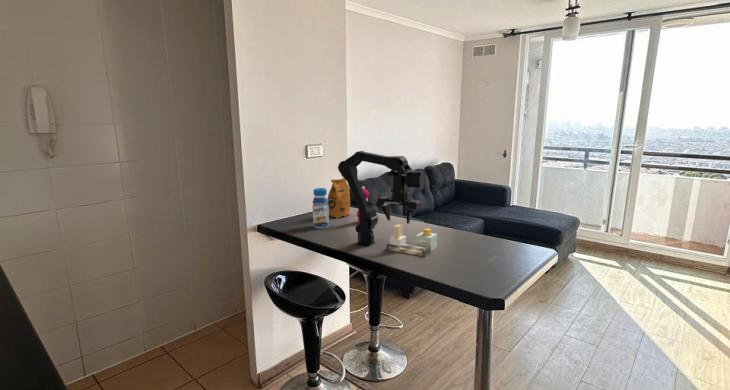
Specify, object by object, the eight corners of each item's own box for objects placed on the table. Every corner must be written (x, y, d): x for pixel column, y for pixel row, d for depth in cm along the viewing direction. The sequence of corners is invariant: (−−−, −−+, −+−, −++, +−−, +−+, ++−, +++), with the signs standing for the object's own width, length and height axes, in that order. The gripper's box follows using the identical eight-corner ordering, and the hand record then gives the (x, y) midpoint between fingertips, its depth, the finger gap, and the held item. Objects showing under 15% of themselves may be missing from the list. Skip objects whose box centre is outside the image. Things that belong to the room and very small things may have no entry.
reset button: (421, 241, 168) (421, 229, 167) (424, 239, 171) (424, 228, 170) (428, 242, 166) (428, 231, 165) (431, 240, 169) (431, 229, 168)
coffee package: (325, 216, 224) (324, 179, 220) (340, 212, 233) (340, 176, 229) (337, 219, 218) (336, 180, 213) (352, 215, 227) (352, 178, 222)
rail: (386, 249, 168) (386, 243, 167) (393, 245, 173) (393, 240, 172) (425, 256, 158) (425, 250, 158) (430, 252, 163) (430, 246, 163)
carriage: (389, 244, 166) (389, 226, 165) (396, 240, 171) (396, 223, 170) (400, 246, 164) (400, 228, 162) (406, 242, 169) (406, 224, 167)
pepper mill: (368, 224, 207) (368, 187, 203) (355, 223, 208) (355, 187, 204) (371, 221, 214) (371, 185, 210) (358, 220, 215) (358, 184, 211)
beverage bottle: (332, 225, 205) (331, 188, 201) (322, 229, 198) (321, 191, 194) (320, 223, 209) (318, 187, 206) (309, 227, 202) (308, 189, 199)
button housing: (415, 249, 168) (415, 235, 166) (422, 244, 174) (422, 231, 173) (430, 251, 164) (430, 238, 163) (436, 246, 170) (437, 233, 169)
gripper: (427, 185, 165) (426, 220, 168) (388, 181, 174) (388, 215, 177) (416, 189, 155) (415, 227, 158) (375, 185, 165) (375, 221, 168)
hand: (398, 222), depth 166 cm, fingers open, 9 cm apart
